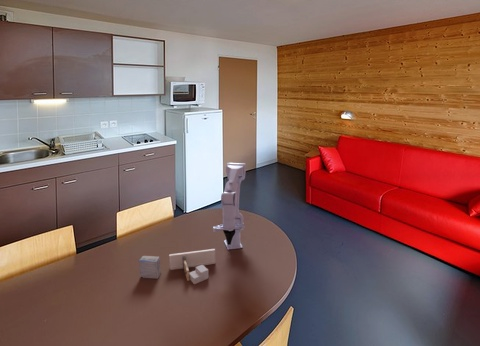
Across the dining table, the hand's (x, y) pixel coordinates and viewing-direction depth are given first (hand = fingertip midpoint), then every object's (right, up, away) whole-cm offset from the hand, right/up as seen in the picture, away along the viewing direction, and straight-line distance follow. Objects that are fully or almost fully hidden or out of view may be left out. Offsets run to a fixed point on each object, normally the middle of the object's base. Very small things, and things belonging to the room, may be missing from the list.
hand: (228, 243), depth 144 cm
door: (-19, -12, -8) cm, 24 cm away
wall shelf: (-17, -10, 0) cm, 20 cm away
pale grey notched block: (-13, -13, -10) cm, 21 cm away
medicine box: (-34, -13, -8) cm, 37 cm away
